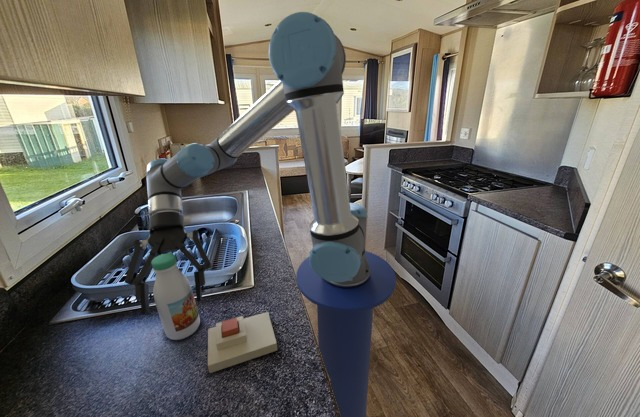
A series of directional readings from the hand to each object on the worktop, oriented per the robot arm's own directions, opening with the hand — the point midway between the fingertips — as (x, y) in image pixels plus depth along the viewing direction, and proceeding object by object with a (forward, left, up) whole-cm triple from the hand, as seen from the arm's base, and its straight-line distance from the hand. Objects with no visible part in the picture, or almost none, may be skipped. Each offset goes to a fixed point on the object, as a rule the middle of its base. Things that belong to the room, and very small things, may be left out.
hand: (173, 307), depth 58 cm
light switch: (-13, +7, -9) cm, 17 cm away
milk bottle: (0, -3, -9) cm, 10 cm away
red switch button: (-11, +6, -5) cm, 14 cm away
